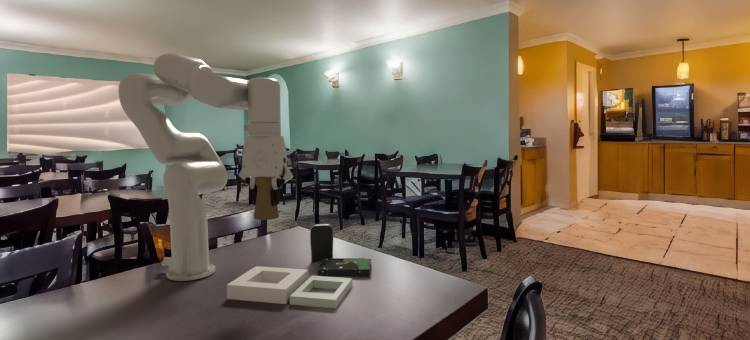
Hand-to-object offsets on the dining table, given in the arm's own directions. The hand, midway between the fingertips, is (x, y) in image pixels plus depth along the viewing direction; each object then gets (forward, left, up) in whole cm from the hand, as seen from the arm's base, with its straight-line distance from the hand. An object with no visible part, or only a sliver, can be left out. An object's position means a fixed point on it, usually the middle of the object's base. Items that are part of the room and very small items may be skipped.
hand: (266, 203), depth 101 cm
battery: (+5, +26, -22) cm, 34 cm away
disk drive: (+15, +18, -23) cm, 32 cm away
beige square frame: (0, 0, -22) cm, 22 cm away
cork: (0, 0, -4) cm, 4 cm away
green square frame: (+14, 0, -22) cm, 26 cm away
